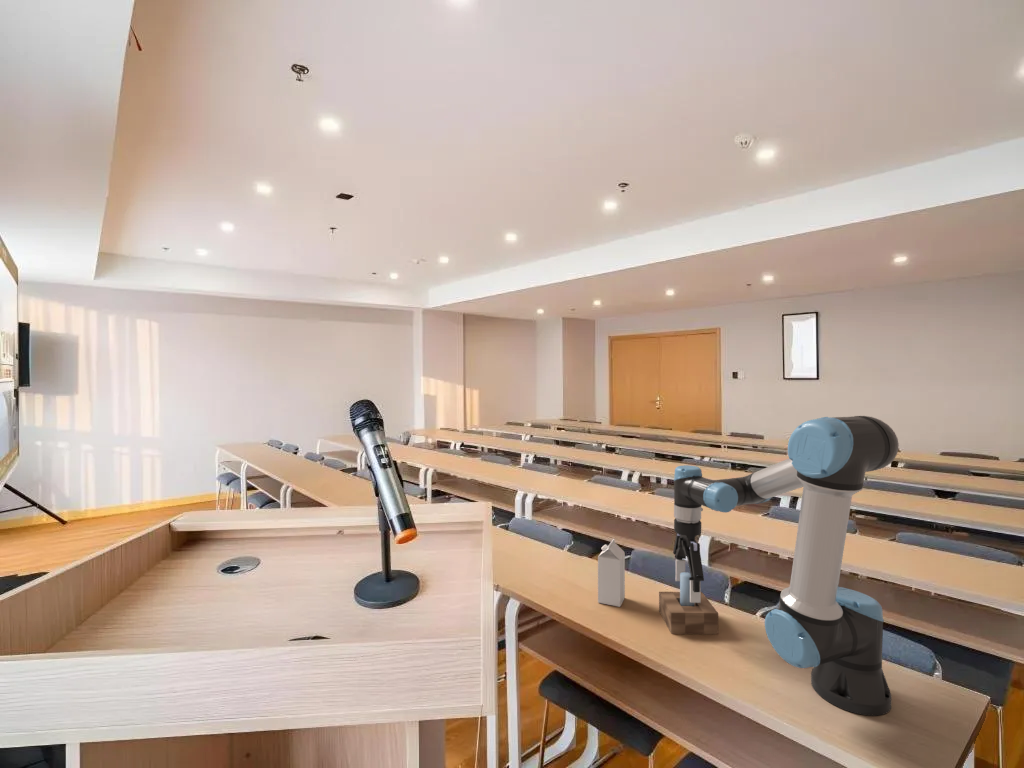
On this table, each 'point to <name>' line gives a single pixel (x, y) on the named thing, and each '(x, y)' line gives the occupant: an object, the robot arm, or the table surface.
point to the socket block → (688, 615)
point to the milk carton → (611, 575)
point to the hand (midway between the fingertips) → (687, 591)
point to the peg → (685, 589)
